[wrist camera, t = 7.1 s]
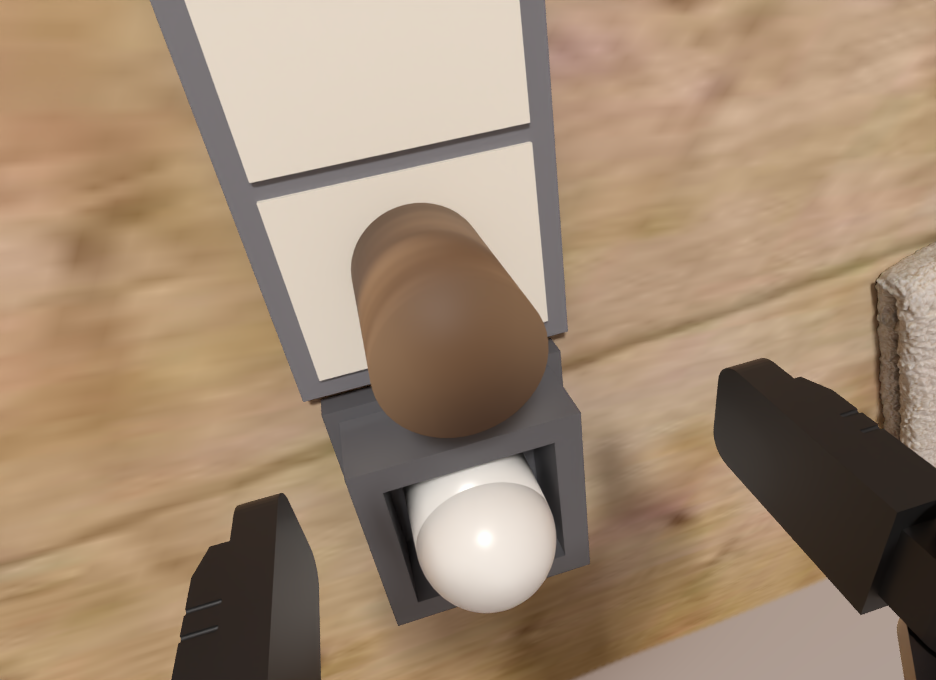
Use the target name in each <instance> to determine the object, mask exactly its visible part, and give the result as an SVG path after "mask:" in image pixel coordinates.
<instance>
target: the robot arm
mask: <svg viewBox="0 0 936 680" xmlns="http://www.w3.org/2000/svg"><path fill="white" fill-rule="evenodd" d="M714 440H715V444H716V447H717V450H718V452H719V454H720V456H721V458H722V459H723V461H724V462H725V463H726V465H727V466H728V467H729V468H730V469H731V470H732V471H733V473H734V474H735V475H736V476H737V477H738V478H739V479H740V480H741V481H742V483H743V484H744V485H745V486H746V487H747V488H748V489H749V490H750V492H751V493H752V494H753V495H754V496H755V497H756V498H757V499H758V500H759V502H760V503H761V504H762V505H763V506H764V507H765V508H766V509H767V511H768V512H769V513H770V514H771V515H772V516H773V517H774V518H775V520H776V521H777V522H778V523H779V524H780V525H781V526H782V527H783V528H784V530H785V531H786V532H787V533H788V534H789V535H790V536H791V537H792V539H793V540H794V541H795V542H796V543H797V544H798V545H799V546H800V547H801V549H802V550H803V551H804V552H805V553H806V554H807V555H808V556H809V558H810V559H811V560H812V561H813V562H814V563H815V564H816V565H817V567H818V568H819V569H820V570H821V571H822V572H823V573H824V574H825V575H826V577H827V578H828V579H829V580H830V581H831V582H832V583H833V584H834V586H835V587H836V588H837V589H838V590H839V591H840V592H841V593H842V594H843V595H844V597H845V598H846V599H847V600H848V601H849V602H850V603H851V605H852V606H853V607H854V608H855V609H856V610H857V611H858V612H859V613H860V615H862V614H865V613H868V612H871V611H874V610H876V609H879V608H882V607H885V606H889V607H890V608H891V609H892V610H893V611H894V612H895V613H896V614H897V615H898V616H899V617H900V618H899V621H898V624H897V635H898V642H899V648H900V655H901V660H902V667H903V673H904V680H936V468H935V467H934V466H933V465H931V464H930V463H929V462H927V461H926V460H925V459H923V458H922V457H921V456H919V455H918V454H917V453H915V452H914V451H913V450H911V449H910V448H909V447H907V446H906V445H905V444H903V443H902V442H901V441H899V440H898V439H897V438H895V437H894V436H893V435H891V434H890V433H889V432H887V431H886V430H885V429H880V428H879V427H878V424H877V423H875V422H874V421H873V420H871V419H870V418H869V417H867V416H866V415H865V414H864V413H858V411H857V408H856V407H854V406H853V405H852V404H850V403H849V402H848V401H846V400H845V399H844V398H842V397H841V396H840V395H838V394H837V393H836V392H834V391H833V390H831V389H829V388H826V387H824V386H821V385H819V384H817V383H814V382H812V381H809V380H807V379H805V378H802V377H798V378H795V379H794V378H793V377H792V376H790V375H789V374H788V373H786V372H785V371H784V370H783V369H781V368H780V367H779V366H778V365H776V364H775V363H774V362H772V361H771V360H769V359H766V358H760V359H757V360H753V361H750V362H746V363H743V364H739V365H736V366H732V367H729V368H725V369H723V370H722V371H721V373H720V375H719V379H718V389H717V399H716V410H715V420H714ZM185 610H186V615H185V616H184V618H183V623H182V628H181V633H180V637H181V643H178V648H177V653H176V659H175V664H174V669H173V674H172V679H171V680H321V664H320V616H319V582H318V574H317V568H316V564H315V560H314V556H313V553H312V550H311V548H310V546H309V544H308V541H307V539H306V537H305V535H304V533H303V531H302V529H301V526H300V524H299V522H298V520H297V518H296V516H295V514H294V511H293V509H292V507H291V505H290V503H289V501H288V499H287V497H286V496H285V495H284V494H283V493H280V494H276V495H273V496H269V497H266V498H262V499H258V500H255V501H251V502H248V503H244V504H241V505H238V506H237V507H236V508H235V511H234V516H233V523H232V530H231V537H230V541H228V542H225V543H221V544H218V545H214V546H211V547H209V549H208V551H207V552H206V554H205V556H204V557H203V559H202V561H201V563H200V564H199V566H198V568H197V569H196V571H195V573H194V574H193V576H192V578H191V583H190V588H189V593H188V598H187V603H186V608H185Z"/></svg>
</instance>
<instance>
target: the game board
mask: <svg viewBox="0 0 936 680" xmlns="http://www.w3.org/2000/svg"><path fill="white" fill-rule="evenodd" d="M150 2H151V5H152V7H153V10H154V12H155V15H156V18H157V20H158V23H159V25H160V28H161V31H162V33H163V36H164V39H165V41H166V44H167V46H168V49H169V52H170V54H171V57H172V59H173V62H174V65H175V67H176V70H177V73H178V75H179V78H180V80H181V83H182V86H183V88H184V91H185V94H186V96H187V99H188V101H189V104H190V107H191V109H192V112H193V114H194V117H195V120H196V122H197V125H198V128H199V130H200V133H201V135H202V138H203V141H204V143H205V146H206V148H207V151H208V154H209V156H210V159H211V162H212V164H213V167H214V169H215V172H216V175H217V177H218V180H219V182H220V185H221V188H222V190H223V193H224V196H225V198H226V201H227V203H228V206H229V209H230V211H231V214H232V216H233V219H234V222H235V224H236V227H237V230H238V232H239V235H240V237H241V240H242V243H243V245H244V248H245V251H246V253H247V256H248V258H249V261H250V264H251V266H252V269H253V271H254V274H255V277H256V279H257V282H258V285H259V287H260V290H261V292H262V295H263V298H264V300H265V303H266V305H267V308H268V311H269V313H270V316H271V319H272V321H273V324H274V326H275V329H276V332H277V334H278V337H279V339H280V342H281V345H282V347H283V350H284V353H285V355H286V358H287V360H288V363H289V366H290V368H291V371H292V374H293V376H294V379H295V381H296V384H297V387H298V389H299V392H300V394H301V397H302V400H303V402H305V401H309V400H312V399H316V398H320V397H324V396H327V395H331V394H335V393H339V392H342V391H346V390H350V389H354V388H357V387H361V386H365V385H369V384H371V383H370V378H369V372H368V367H367V361H366V356H365V350H364V345H363V339H362V334H361V328H360V322H359V317H358V311H357V306H356V300H355V295H354V289H353V284H352V278H351V260H352V256H353V252H354V249H355V246H356V244H357V242H358V240H359V238H360V236H361V235H362V233H363V232H364V231H365V229H366V228H367V227H368V226H369V225H370V224H371V223H372V222H373V221H374V220H375V219H377V218H378V217H379V216H380V215H382V214H384V213H385V212H387V211H389V210H391V209H393V208H396V207H399V206H402V205H405V204H412V203H432V204H437V205H441V206H444V207H447V208H449V209H451V210H453V211H455V212H457V213H458V214H460V215H461V216H462V217H464V218H465V219H466V220H467V221H468V222H469V223H470V224H471V226H472V227H473V228H474V229H475V231H476V232H477V233H478V235H479V236H480V237H481V239H482V240H483V241H484V242H485V244H486V245H487V246H488V248H489V249H490V250H491V252H492V253H493V254H494V256H495V257H496V258H497V259H498V261H499V262H500V263H501V265H502V266H503V267H504V269H505V270H506V271H507V272H508V274H509V275H510V276H511V278H512V279H513V280H514V282H515V283H516V284H517V286H518V287H519V288H520V289H521V291H522V292H523V293H524V295H525V296H526V297H527V299H528V300H529V301H530V302H531V304H532V305H533V306H534V308H535V309H536V310H537V312H538V313H539V315H540V317H541V319H542V321H543V322H544V325H545V328H546V331H547V337H549V336H552V335H556V334H560V333H564V332H567V331H568V326H567V312H566V297H565V283H564V268H563V254H562V240H561V225H560V211H559V196H558V182H557V167H556V153H555V139H554V124H553V110H552V95H551V81H550V67H549V52H548V38H547V23H546V9H545V0H150Z"/></svg>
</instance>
